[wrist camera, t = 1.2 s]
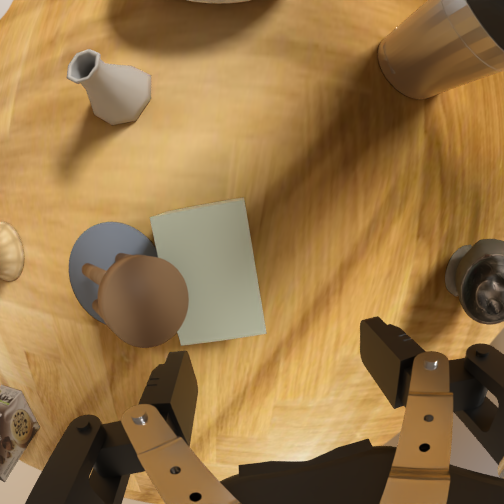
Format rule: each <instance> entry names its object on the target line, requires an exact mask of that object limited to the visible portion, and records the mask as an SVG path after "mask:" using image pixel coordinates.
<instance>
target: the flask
mask: <svg viewBox="0 0 504 504" xmlns="http://www.w3.org/2000/svg"><path fill="white" fill-rule="evenodd" d="M100 57H101V55H100V54H99V53H97V52H95V51H93V50H90V49H88V50H85V51H82V52H79V53H77V54H76V55H75V56H74V58H73V59H72V61H71V62H70V64H69V65H68V71H67V79H69V80H71V81H73V82H75V83H77V84H80V83H81V84H82V86H83V87H84V88H85V89H86V91H87V94H88V97H89V99H90V102H91V106H92V109H93V112H94V115H96V116H97V117H99V118H101V119H102V120H104V121H106V122H108V123H109V124H111V125H116V124H121V123H126V122H132V121H136V120H137V118H138V117H139V115H140V114H141V112H142V111H143V109H144V108H145V107H146V105H147V104H148V102H149V101H150V99H151V75H149V74H147V73H145V72H143V71H141V70H139V69H137V68H135V67H133V66H126V65H115V64H106V63H104V62H103V61H102V60H101V59H100Z"/></svg>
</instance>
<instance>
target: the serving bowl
mask: <svg viewBox="0 0 504 504" xmlns="http://www.w3.org/2000/svg"><path fill="white" fill-rule="evenodd" d="M188 1H193V2H201V3H237V2H244V1H250V0H188Z"/></svg>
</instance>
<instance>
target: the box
mask: <svg viewBox="0 0 504 504" xmlns="http://www.w3.org/2000/svg"><path fill="white" fill-rule="evenodd" d="M150 221H151V226H152V231H153V236H154V241H155V245H156V250H157V254H158V258H161V259H164V260H166V261H168V262H170V263H171V264H172V265H174V266H175V267H176V268H177V269H178V270H179V272H180V273H181V275H182V276H183V278H184V280H185V282H186V285H187V289H188V296H189V304H188V311H187V314H186V317H185V320H184V322H183V324H182V326H181V327H180V329H179V330H178V331H177V333H178V336H179V340H180V343H181V346H182V345H191V344H199V343H207V342H214V341H222V340H229V339H235V338H242V337H248V336H255V335H261V334H267V333H266V327H265V321H264V315H263V309H262V303H261V297H260V291H259V285H258V279H257V273H256V267H255V261H254V255H253V249H252V243H251V237H250V231H249V225H248V219H247V213H246V207H245V201H244V198H243V197H242V198H236V199H231V200H225V201H219V202H214V203H208V204H203V205H197V206H192V207H187V208H182V209H177V210H172V211H167V212H164V213H161V214H159V215H156V216H153V217H150Z"/></svg>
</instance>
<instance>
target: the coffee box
mask: <svg viewBox="0 0 504 504" xmlns="http://www.w3.org/2000/svg"><path fill="white" fill-rule="evenodd" d="M39 428H40V426H39V424H38V423H37V421H36V419H35V417H34V415H33V413H32V411H31V409H30V407H29V405H28V403H27V401H26V399H25V397H24V395H23V393H22V391H19V390H16V389H13V388H10V387H7V386H4V385H1V386H0V480H2V481H3V482H5V481H6V480H7V478H8V476H9V474H10V473H11V471H12V470H13V468H14V466H15V465H16V463H17V462H18V460H19V458H20V457H21V455H22V454H23V452H24V450H25V449H26V447H27V446H28V444H29V443H30V441H31V440H32V438H33V437H34V435H35V434H36V432H37V431H38V429H39Z"/></svg>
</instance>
